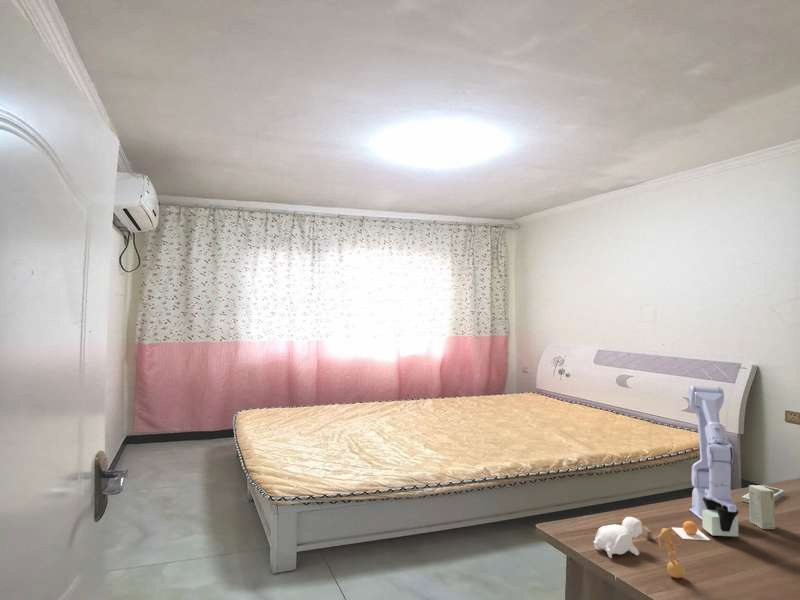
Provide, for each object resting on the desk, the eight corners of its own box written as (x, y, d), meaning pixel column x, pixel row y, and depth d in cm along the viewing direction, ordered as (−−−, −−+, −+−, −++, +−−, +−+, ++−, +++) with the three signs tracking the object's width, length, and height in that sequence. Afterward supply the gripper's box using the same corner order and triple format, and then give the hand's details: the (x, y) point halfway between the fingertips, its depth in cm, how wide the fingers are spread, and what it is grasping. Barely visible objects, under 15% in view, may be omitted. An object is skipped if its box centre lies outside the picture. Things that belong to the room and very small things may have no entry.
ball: (686, 516, 159) (696, 524, 159) (677, 525, 159) (687, 534, 159) (692, 521, 155) (702, 530, 155) (684, 530, 155) (694, 539, 155)
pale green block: (702, 527, 160) (702, 509, 160) (727, 528, 159) (727, 510, 159) (712, 535, 154) (712, 516, 154) (738, 536, 153) (738, 517, 153)
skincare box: (775, 529, 161) (775, 491, 162) (761, 529, 161) (761, 491, 162) (761, 521, 168) (761, 484, 168) (748, 521, 168) (748, 484, 168)
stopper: (632, 523, 165) (632, 516, 165) (636, 523, 164) (636, 516, 165) (647, 539, 153) (647, 531, 153) (651, 540, 153) (651, 532, 153)
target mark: (671, 527, 162) (671, 527, 162) (697, 529, 161) (697, 528, 161) (682, 539, 154) (682, 538, 154) (710, 540, 153) (710, 539, 153)
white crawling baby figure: (618, 571, 140) (654, 543, 145) (609, 544, 139) (646, 517, 144) (595, 557, 148) (631, 531, 153) (587, 531, 147) (623, 506, 152)
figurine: (672, 584, 127) (672, 536, 128) (651, 573, 133) (651, 527, 133) (693, 577, 131) (693, 530, 131) (672, 566, 136) (672, 522, 137)
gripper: (694, 474, 164) (694, 516, 164) (718, 490, 150) (718, 536, 150) (717, 475, 164) (717, 517, 163) (743, 491, 149) (743, 537, 149)
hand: (719, 526), depth 156 cm, fingers closed on pale green block, 6 cm apart
